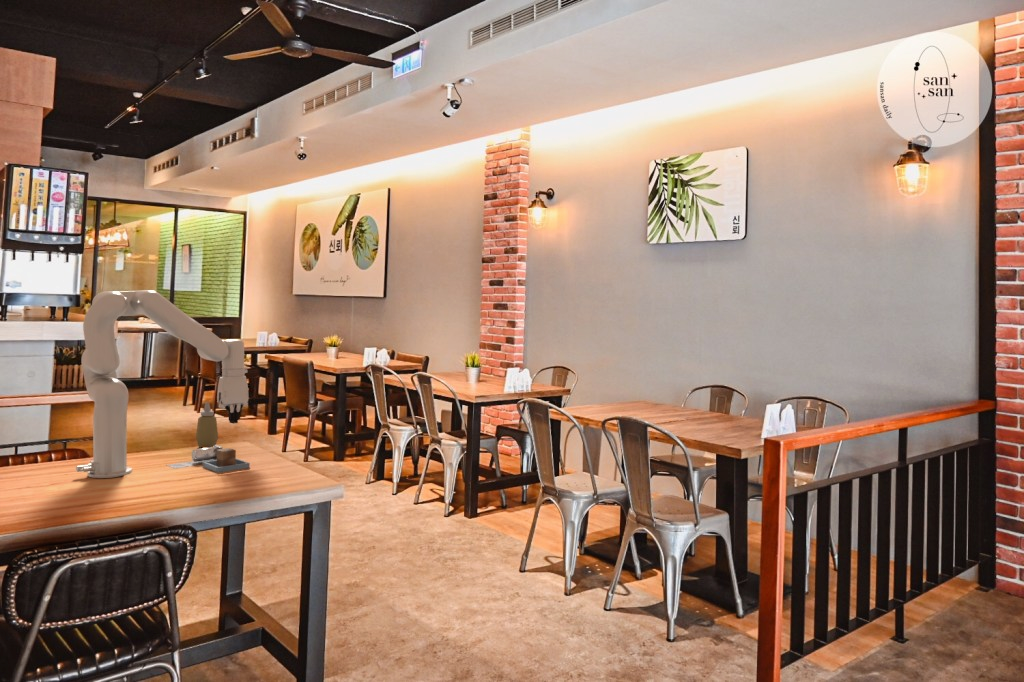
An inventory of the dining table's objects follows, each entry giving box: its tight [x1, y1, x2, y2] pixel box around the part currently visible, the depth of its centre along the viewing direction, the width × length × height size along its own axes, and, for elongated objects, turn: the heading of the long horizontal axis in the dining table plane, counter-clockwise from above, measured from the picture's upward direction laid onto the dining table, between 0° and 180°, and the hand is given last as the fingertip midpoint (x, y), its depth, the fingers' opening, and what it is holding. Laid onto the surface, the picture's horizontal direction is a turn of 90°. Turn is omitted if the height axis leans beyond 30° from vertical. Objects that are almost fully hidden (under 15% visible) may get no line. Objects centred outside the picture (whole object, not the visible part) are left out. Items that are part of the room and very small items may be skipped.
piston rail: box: [166, 459, 217, 470], centre depth 245 cm, size 18×7×1 cm, turn 138°
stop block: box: [217, 447, 237, 467], centre depth 239 cm, size 4×4×6 cm
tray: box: [202, 457, 251, 475], centre depth 239 cm, size 11×11×2 cm
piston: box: [191, 444, 223, 462], centre depth 247 cm, size 9×5×5 cm, turn 138°
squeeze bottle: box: [195, 401, 219, 448], centre depth 273 cm, size 8×8×18 cm
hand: (233, 422), depth 254 cm, fingers closed
